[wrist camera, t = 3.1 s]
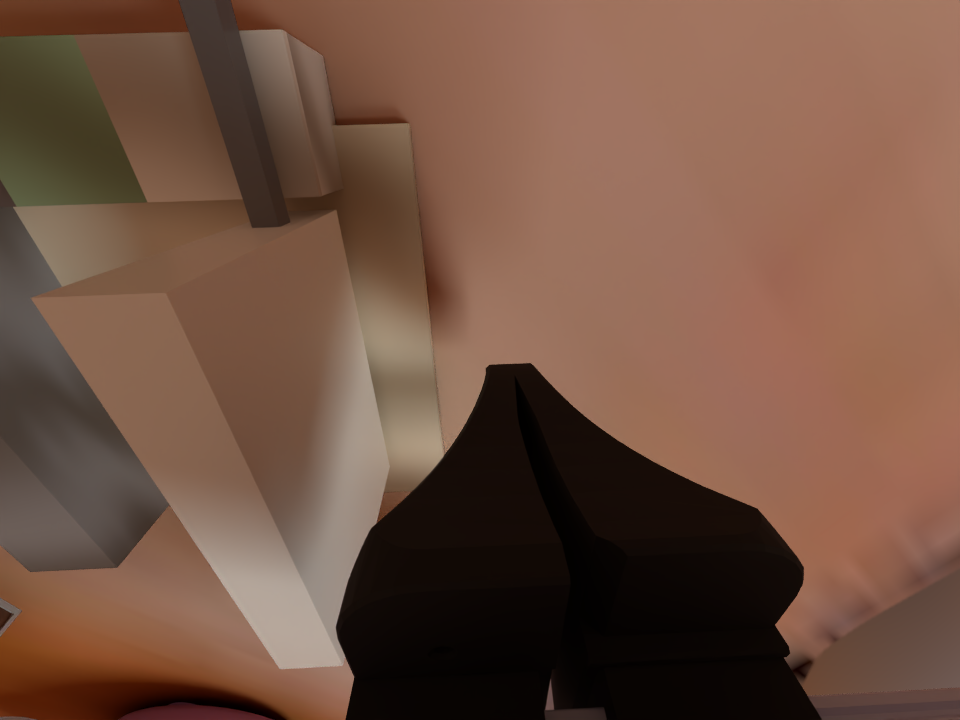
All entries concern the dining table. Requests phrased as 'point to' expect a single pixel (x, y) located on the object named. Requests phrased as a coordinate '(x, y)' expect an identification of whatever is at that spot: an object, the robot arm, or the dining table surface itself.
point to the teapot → (191, 713)
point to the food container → (7, 615)
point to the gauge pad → (245, 381)
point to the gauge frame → (163, 226)
